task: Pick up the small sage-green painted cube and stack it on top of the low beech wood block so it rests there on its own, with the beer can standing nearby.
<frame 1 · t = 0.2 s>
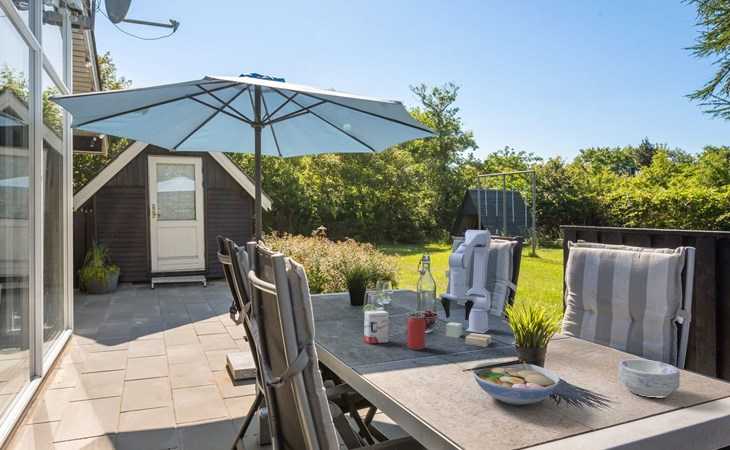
hand: (457, 318, 189), 10 cm above the table, tool pointing down, fingers open, 7 cm apart
pedestal: (478, 344, 191), on the table
ramen bowl: (514, 401, 132), on the table
cube: (453, 335, 202), on the table
beer can: (416, 348, 182), on the table
paper bowls: (647, 393, 139), on the table
ink box: (376, 342, 191), on the table
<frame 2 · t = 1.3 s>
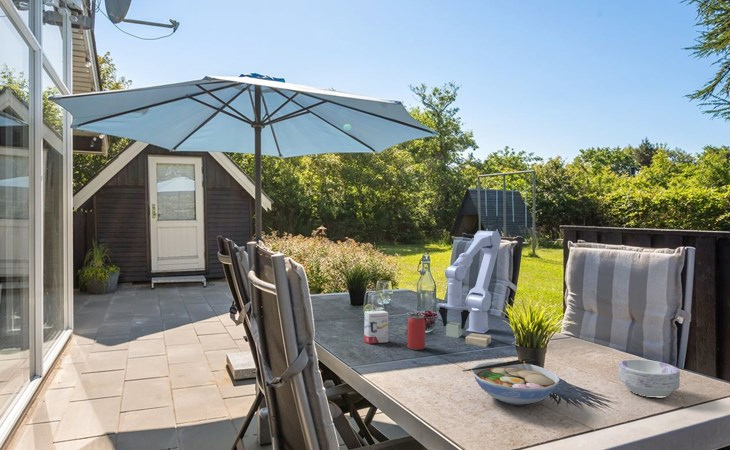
hand: (453, 327, 202), 4 cm above the table, tool pointing down, fingers open, 7 cm apart
nothing on the table moved.
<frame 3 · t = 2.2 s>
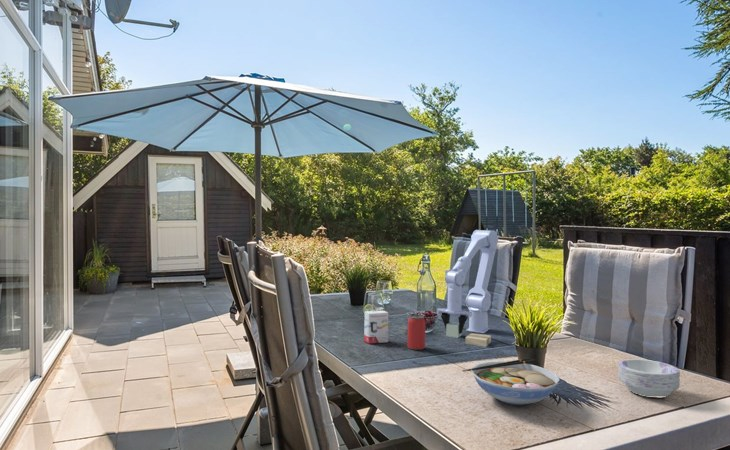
hand: (453, 332, 202), 1 cm above the table, tool pointing down, fingers closed on cube, 5 cm apart
cube: (453, 335, 202), on the table, touching gripper
everything else where it was.
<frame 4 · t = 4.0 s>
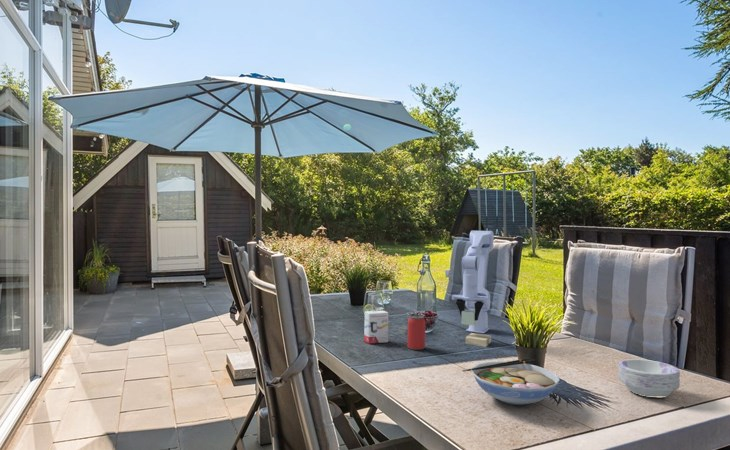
hand: (469, 319, 195), 8 cm above the table, tool pointing down, fingers closed on cube, 5 cm apart
cube: (469, 323, 195), point 7 cm above the table, touching gripper
everything else where it was.
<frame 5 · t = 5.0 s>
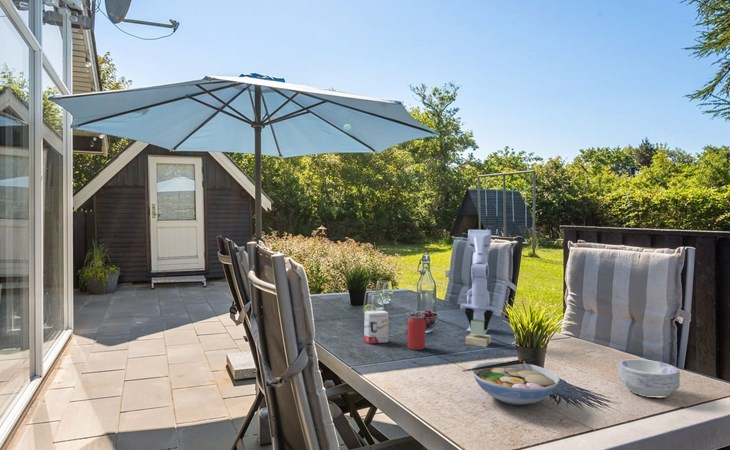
hand: (478, 328, 191), 6 cm above the table, tool pointing down, fingers closed on cube, 5 cm apart
cube: (478, 333, 191), point 4 cm above the table, touching gripper
everything else where it was.
when the fingers open (6 cm above the table, at t = 5.7 s): cube drops 1 cm, resting on pedestal.
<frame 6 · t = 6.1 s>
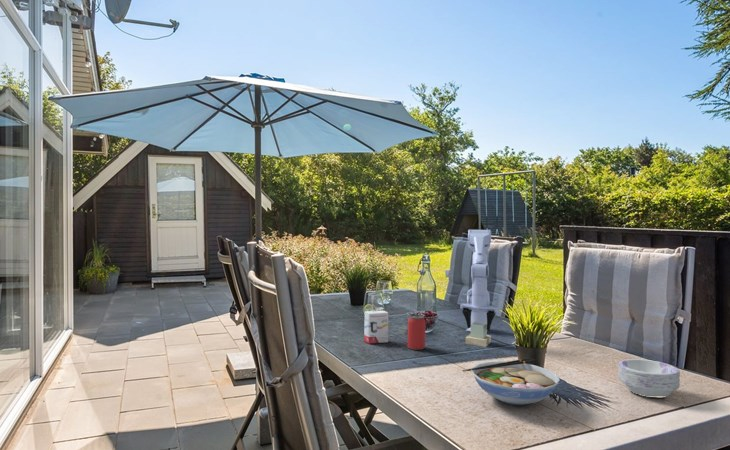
hand: (478, 328, 191), 6 cm above the table, tool pointing down, fingers open, 7 cm apart
pedestal: (478, 344, 191), on the table, touching cube
cube: (478, 336, 191), point 3 cm above the table, touching pedestal
everything else where it was.
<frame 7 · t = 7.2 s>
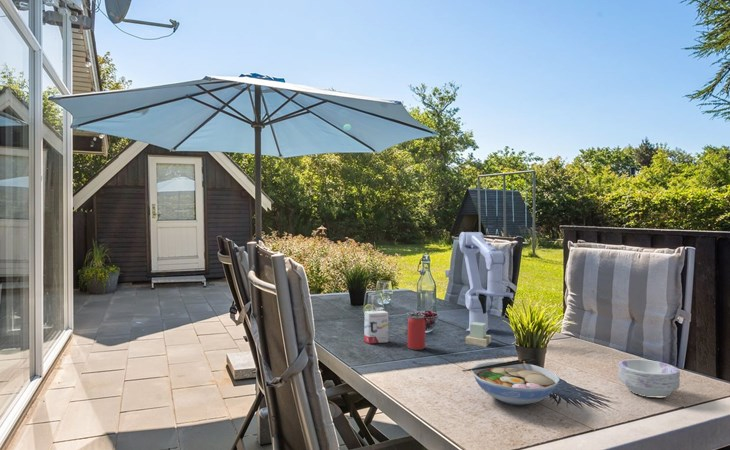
hand: (494, 314, 196), 10 cm above the table, tool pointing down, fingers open, 7 cm apart
nothing on the table moved.
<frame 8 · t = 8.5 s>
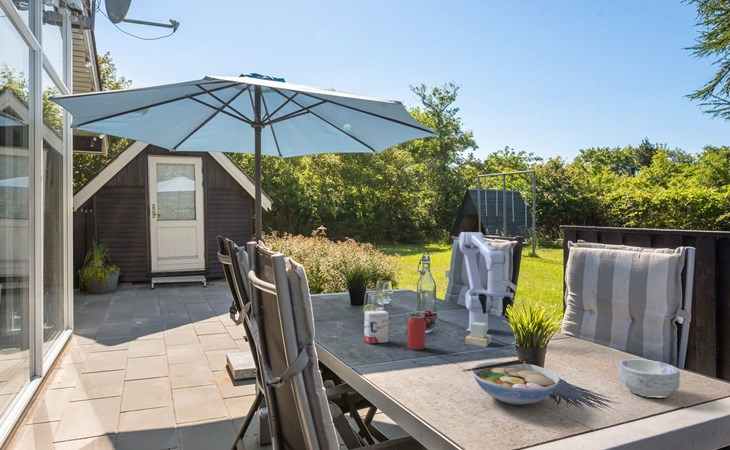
hand: (494, 314, 196), 10 cm above the table, tool pointing down, fingers open, 7 cm apart
pedestal: (478, 344, 191), on the table
cube: (478, 336, 191), point 3 cm above the table
everything else where it was.
at the end: cube 0.1 cm off-centre on the pedestal, point 3.0 cm above the pedestal's base; cube tilted 0°; the gripper is holding nothing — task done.
